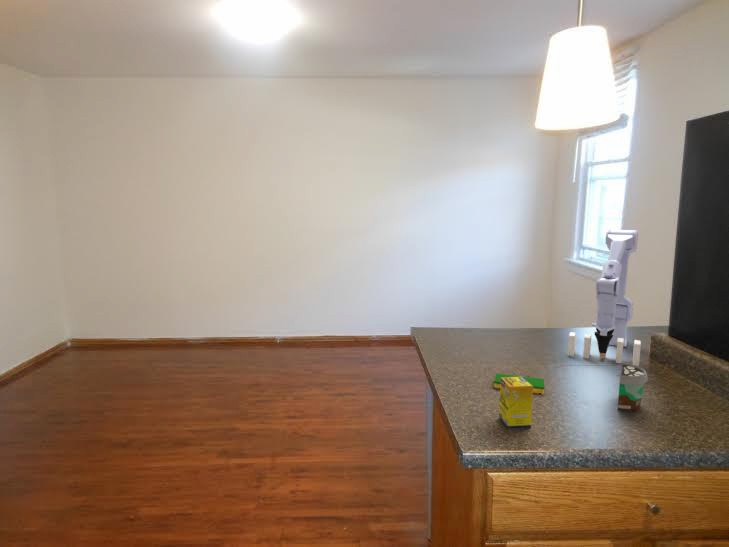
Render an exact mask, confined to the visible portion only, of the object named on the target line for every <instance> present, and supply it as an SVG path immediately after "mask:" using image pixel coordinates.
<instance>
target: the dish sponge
mask: <svg viewBox="0 0 729 547" xmlns="http://www.w3.org/2000/svg"><path fill="white" fill-rule="evenodd" d="M504 377H523V378H524V379H525V380H526V381H527V382H528V383H530V384H531V385H532V386H533V394H539V393H541V394H540V395H544V394H545V387H546V386H545V379H544V378H538V377H530V376H523V375H522V376H521V375H512V374H503V373H495V377H494V384H493V388H494V387H495V389H499V388H500V382H501V378H504Z"/></svg>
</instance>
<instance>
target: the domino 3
mask: <svg viewBox="0 0 729 547" xmlns="http://www.w3.org/2000/svg"><path fill="white" fill-rule="evenodd" d="M606 356H607V353H606V354H605V353H599V354H598V358H601V359H606Z"/></svg>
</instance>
